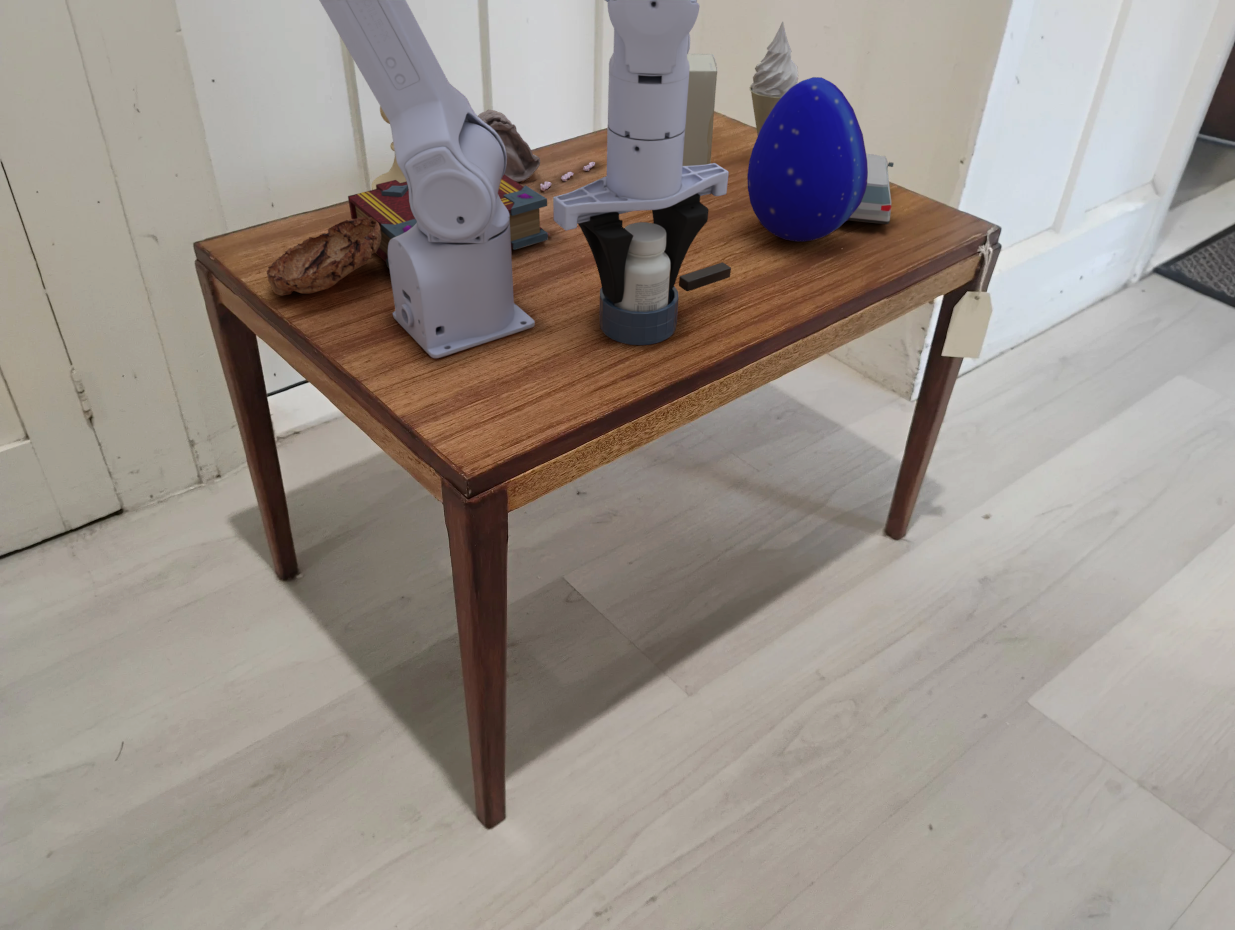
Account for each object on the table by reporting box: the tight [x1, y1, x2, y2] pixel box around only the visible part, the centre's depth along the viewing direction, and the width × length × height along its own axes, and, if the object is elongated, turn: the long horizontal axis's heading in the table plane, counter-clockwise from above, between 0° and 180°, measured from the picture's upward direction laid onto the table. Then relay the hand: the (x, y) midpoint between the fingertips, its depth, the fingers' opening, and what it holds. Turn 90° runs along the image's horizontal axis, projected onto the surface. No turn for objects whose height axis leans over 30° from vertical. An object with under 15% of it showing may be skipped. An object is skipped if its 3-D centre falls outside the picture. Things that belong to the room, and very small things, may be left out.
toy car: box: [847, 152, 895, 225], centre depth 99 cm, size 6×13×5 cm, turn 171°
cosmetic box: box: [682, 53, 718, 166], centre depth 101 cm, size 6×4×12 cm
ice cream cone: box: [749, 21, 799, 136], centre depth 104 cm, size 5×5×15 cm
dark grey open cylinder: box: [598, 285, 680, 346], centre depth 80 cm, size 6×6×3 cm
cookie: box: [266, 216, 381, 296], centre depth 84 cm, size 10×11×3 cm
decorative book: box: [347, 174, 551, 268], centre depth 90 cm, size 11×16×5 cm
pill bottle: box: [615, 221, 670, 312], centre depth 78 cm, size 4×4×8 cm
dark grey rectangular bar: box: [678, 261, 732, 293], centre depth 83 cm, size 5×1×1 cm, turn 125°
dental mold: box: [477, 109, 541, 182], centre depth 103 cm, size 8×7×5 cm
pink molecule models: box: [539, 161, 596, 192], centre depth 102 cm, size 15×2×1 cm, turn 141°
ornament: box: [746, 76, 868, 242], centre depth 90 cm, size 11×9×15 cm
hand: (638, 290), depth 79 cm, fingers closed on pill bottle, 4 cm apart
